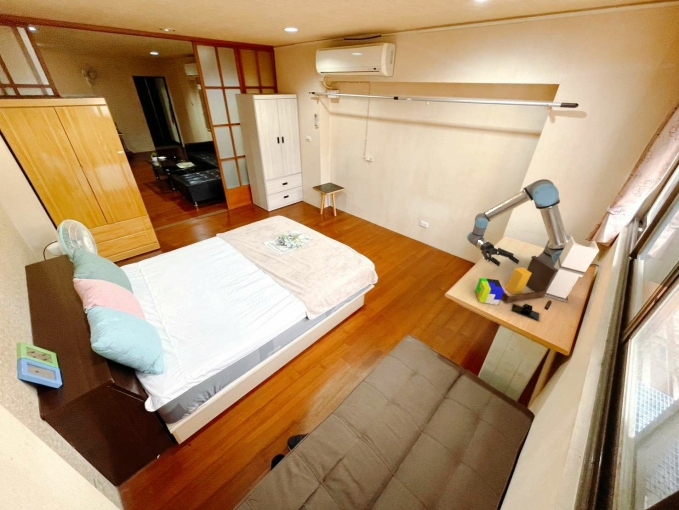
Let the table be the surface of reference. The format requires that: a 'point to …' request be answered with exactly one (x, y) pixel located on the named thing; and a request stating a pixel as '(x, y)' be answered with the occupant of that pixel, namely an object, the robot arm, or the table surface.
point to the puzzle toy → (489, 291)
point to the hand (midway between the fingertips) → (508, 263)
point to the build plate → (526, 311)
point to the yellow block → (518, 280)
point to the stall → (534, 281)
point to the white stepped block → (570, 268)
